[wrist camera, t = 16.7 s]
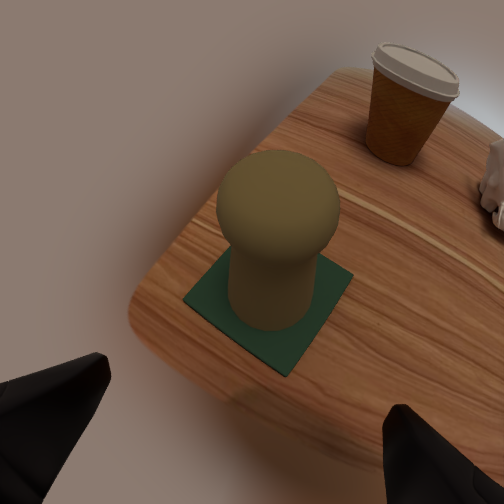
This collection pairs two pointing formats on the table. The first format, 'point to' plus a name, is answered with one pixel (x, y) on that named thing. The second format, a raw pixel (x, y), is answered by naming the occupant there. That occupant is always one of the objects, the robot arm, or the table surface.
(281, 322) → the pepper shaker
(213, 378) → the table surface
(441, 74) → the disposable coffee cup
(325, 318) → the coaster
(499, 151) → the elephant figurine
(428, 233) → the table surface
